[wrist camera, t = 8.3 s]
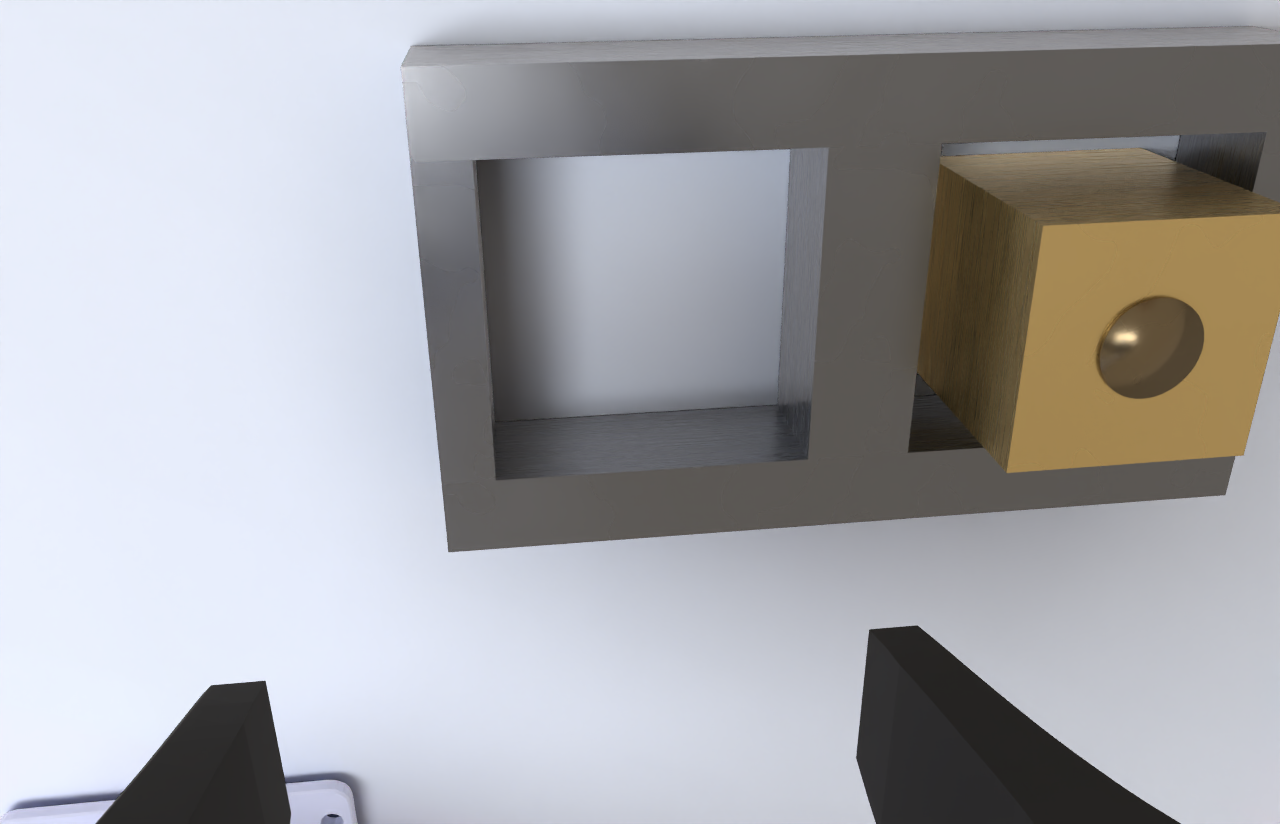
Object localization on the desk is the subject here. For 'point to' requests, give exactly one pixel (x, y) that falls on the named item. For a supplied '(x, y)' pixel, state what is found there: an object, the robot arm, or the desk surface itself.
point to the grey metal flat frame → (794, 260)
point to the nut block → (1098, 307)
